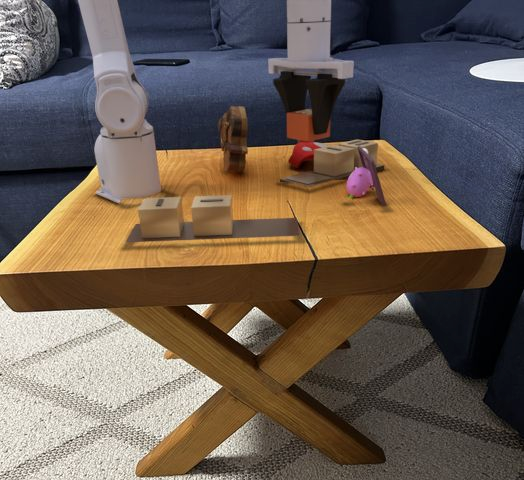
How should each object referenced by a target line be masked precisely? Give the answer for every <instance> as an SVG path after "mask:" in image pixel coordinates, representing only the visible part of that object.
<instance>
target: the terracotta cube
mask: <svg viewBox="0 0 524 480" xmlns="http://www.w3.org/2000/svg"><path fill="white" fill-rule="evenodd" d="M330 137H331V121H330V122H329V126H328V130H327V133H324V134H319V135H315V134H314V131H313V124H312V108H305V110H300V111H294V112H289V113H287V115H286V138H287V139H292V140H297V141H298V140H302V141H307V142H309V141H313V140H314V141H317V140H321V139H326V138H327V139H328V138H330Z"/></svg>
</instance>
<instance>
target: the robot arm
mask: <svg viewBox="0 0 524 480" xmlns="http://www.w3.org/2000/svg"><path fill="white" fill-rule="evenodd" d="M77 2H78V6H79V9H80V15H81V17H82V21H83V22H82V23H83V26H84V29H85V33H86V37H87V40H88V44H89V48H90V52H91V56H92V65H93V77H94V81H95V86H96V96H95V101H94V110H95V115H96V117H97V120H98V122H99V123H100V124H101V125H102V127H101V128H100V130H99V131H100V134H99V135H98V137H96V140H95V143H94V147H93V149H94V158H95V162H96V167H97V168H96V169H97V173H98V178H99V184H100V189H99V190H96V191H95V194H96V195H97V196H100V197H102V198H105V199H106V200H109V201H111V202H114V203H116V204H120V203H121V201H122V200H123V199H125V200H126V199H128V200H131V199H143V198H149V197H151V196H154V195H157V194H159V193H160V192H161V191H162V187H161V186H162V185H161V178H160V170H159V169H160V168H159V163H158V162H159V161H158V155H157V154H158V153H157V148H156V146H157V145H156V140H155V132H154V126H153V125H151V123H149V122H148V121H147V119H146V118H145V117H146V114H147V113H148V109H149V105H150V103H149V102H150V101H149V95H148V93H147V91H146V88H145V87H144V86H143V84H142V83H141V82H140V80H139V79H138V76H137V72H136V69H135V64H134V62H133V59H132V56H131V54H130V50H129V45H128V41H127V37H126V33H125V27H124V24H123V19H122V15H121V10H120V6H119V2H118V0H77ZM331 20H332V0H286V33H287V34H286V35H287V37H286V38H287V39H286V41H287V42H286V43H287V48H286V49H287V57H273V58H268V60H267V61H268V63H267V64H268V75H269V74H270V75H276V74H279V76H278V77H275V78H273V80H272V84H273V86H274V88H275V89H276V91H277V93H278V95H279V97H280V100H281V102H282V105H283V109H284V111H285V112H284V113H285V115H286V116H287V113H289V112H294V111H300V110H305V109H306V99H307V93H308V95H309V100H310V101H309V102H310V108H311V109H312V124H313V131H314V134H315V135H319V134H324V133H327V130H328V126H329V122H330V123H331V119H332V114H333V110H334V109H335V108H334V107H335V105H336V103H337V100H338V98H339V95H340V93H341V92H342V90H343V88H344V87H345V85H346V79H352V78H353V77H354V68H355V67H354V66H355V62H354V60H345V59H344V60H343V59H337V58H334V57H331V26H332V25H331V24H332V23H331V22H332V21H331ZM307 69H308V70H307ZM310 69H311V70H310ZM312 70H313V71H312ZM312 77H316V78H312Z"/></svg>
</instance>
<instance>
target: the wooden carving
mask: <svg viewBox="0 0 524 480" xmlns="http://www.w3.org/2000/svg"><path fill="white" fill-rule="evenodd" d="M217 127H218V133H219V134H220V149H221V151H222V152H223V158H222V159H223V168H224V170H225V171H226V172H234V173H240V174H242V173H243V172H245V170H246V167H247V159H246V158H247V157H246V156H247V155H248V153H249V150H248V149H249V147H248V146H247V139H248V138H247V137H248V117H247V112H246V108H245V106H244V105H243V106H238V105H237V106H233V105H231V106H230V107H229V108H228V111H227V112H224V113H223V115H222V117H221V118H220V119H219V120H218V124H217Z"/></svg>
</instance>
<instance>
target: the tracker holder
mask: <svg viewBox="0 0 524 480" xmlns="http://www.w3.org/2000/svg"><path fill="white" fill-rule="evenodd" d="M327 146H329V145H328V144H325V143H322V142H319V141H315V140H313V141H309V142H307V141H302V140H297V143H296V144H295V145H294V146H293V149H292V153H291V155H290V157H289V158H288V164H289V165H291V166H293V167H294V168H296V169H299V168H300V167H301V166H302V164H303V163H304V162H306V161H314V150H315V149H319V148H323V147H327Z"/></svg>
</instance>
